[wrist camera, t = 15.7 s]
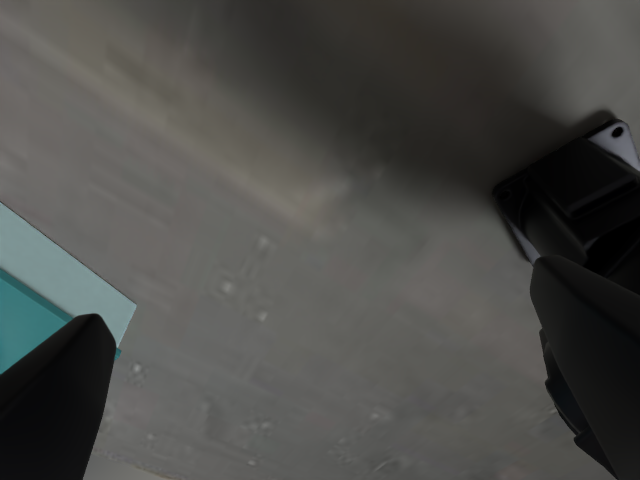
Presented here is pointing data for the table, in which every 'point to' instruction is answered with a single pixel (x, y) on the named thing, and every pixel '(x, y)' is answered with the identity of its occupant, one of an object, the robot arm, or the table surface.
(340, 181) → the table surface
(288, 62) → the table surface
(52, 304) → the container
